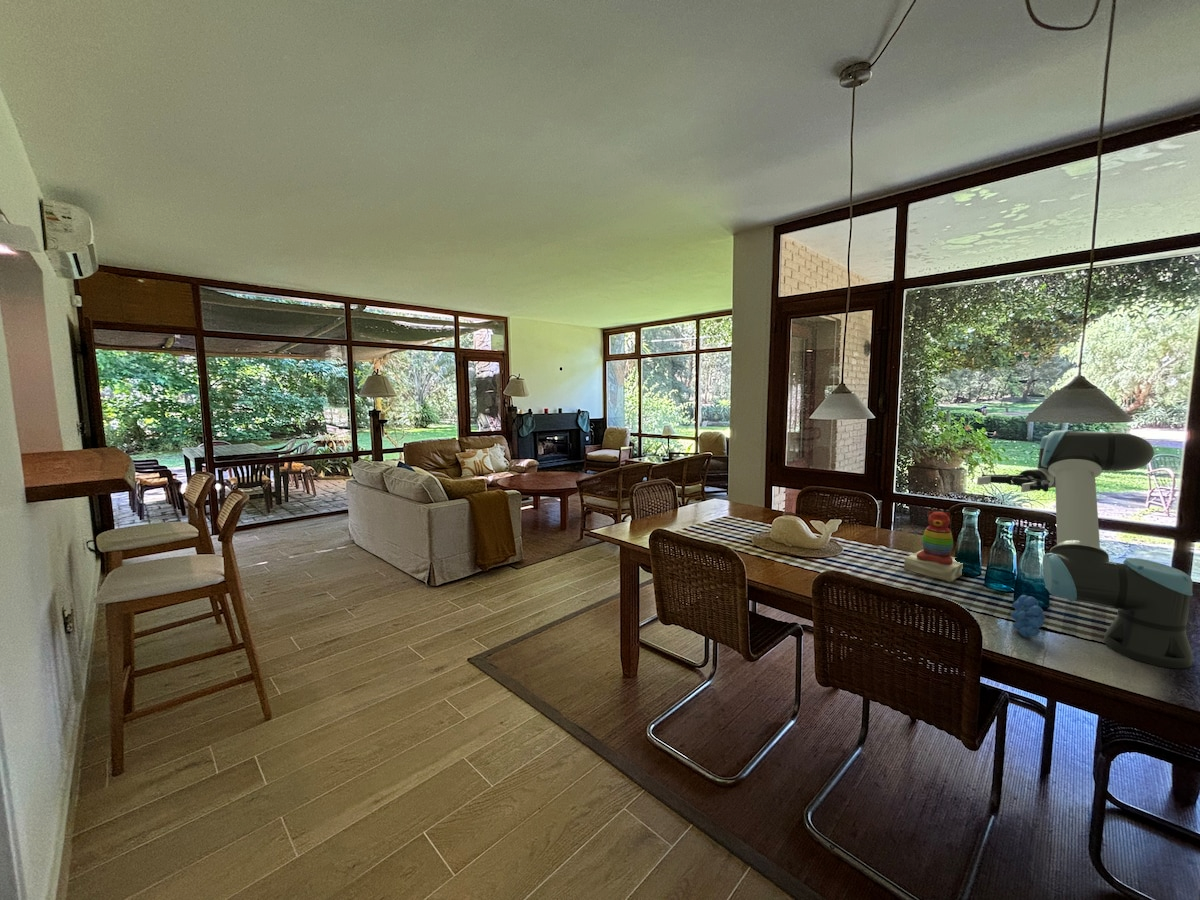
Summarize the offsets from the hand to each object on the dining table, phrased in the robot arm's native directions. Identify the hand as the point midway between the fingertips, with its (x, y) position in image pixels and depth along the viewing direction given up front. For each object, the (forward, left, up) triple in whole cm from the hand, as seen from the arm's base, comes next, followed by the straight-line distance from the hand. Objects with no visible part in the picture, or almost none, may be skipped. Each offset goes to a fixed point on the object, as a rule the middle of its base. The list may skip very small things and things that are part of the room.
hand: (999, 484), depth 171 cm
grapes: (-43, -21, -34) cm, 58 cm away
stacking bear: (-9, +14, -30) cm, 34 cm away
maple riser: (-9, +14, -34) cm, 38 cm away
